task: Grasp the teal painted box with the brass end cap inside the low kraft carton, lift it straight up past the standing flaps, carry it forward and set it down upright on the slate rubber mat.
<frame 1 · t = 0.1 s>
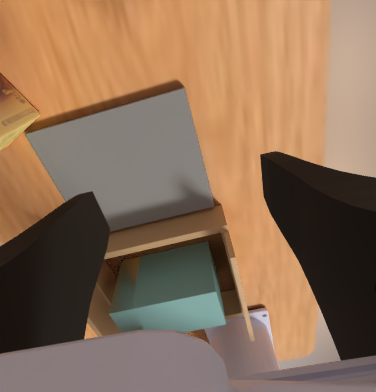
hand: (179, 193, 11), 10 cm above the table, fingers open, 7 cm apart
slate mat: (129, 170, 21), on the table
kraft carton: (170, 266, 27), on the table
teal box: (170, 266, 27), resting in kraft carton
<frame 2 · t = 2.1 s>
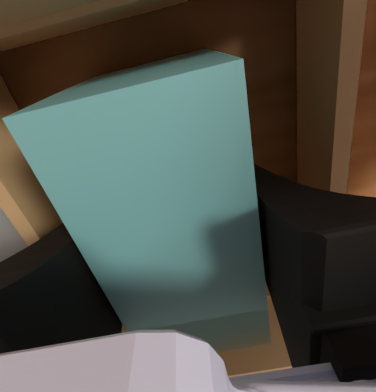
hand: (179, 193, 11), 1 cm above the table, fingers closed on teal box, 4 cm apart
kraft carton: (176, 169, 12), on the table
teal box: (176, 169, 12), resting in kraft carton, touching gripper
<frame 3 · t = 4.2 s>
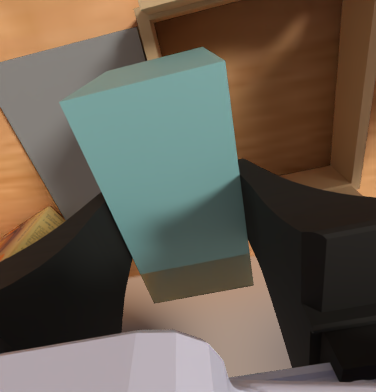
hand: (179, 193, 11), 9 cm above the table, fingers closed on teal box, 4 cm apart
slate mat: (97, 140, 19), on the table
candy box: (33, 239, 24), on the table
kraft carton: (254, 104, 18), on the table
teal box: (177, 149, 14), point 5 cm above the table, touching gripper
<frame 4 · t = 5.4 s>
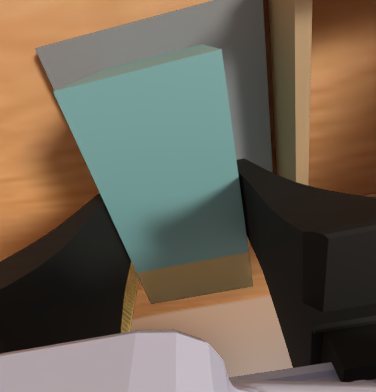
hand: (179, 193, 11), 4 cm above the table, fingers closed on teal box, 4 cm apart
slate mat: (177, 145, 15), on the table
candy box: (80, 266, 20), on the table
teal box: (176, 148, 14), point 1 cm above the table, touching gripper, slate mat
when the fingers open (3 cm above the table, at t = 6.2 s): teal box stays where it is, resting on slate mat.
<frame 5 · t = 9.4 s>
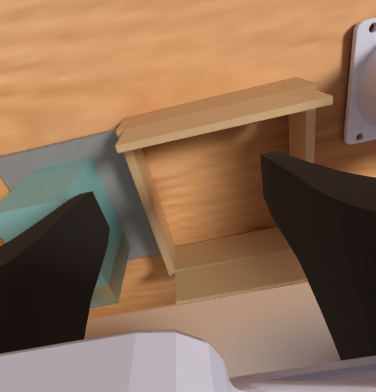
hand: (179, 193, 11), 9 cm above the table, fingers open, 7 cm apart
slate mat: (89, 208, 22), on the table
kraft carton: (222, 180, 22), on the table
teal box: (87, 211, 22), point 1 cm above the table, touching slate mat
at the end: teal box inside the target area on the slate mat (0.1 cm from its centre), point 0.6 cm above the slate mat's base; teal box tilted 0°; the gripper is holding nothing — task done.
